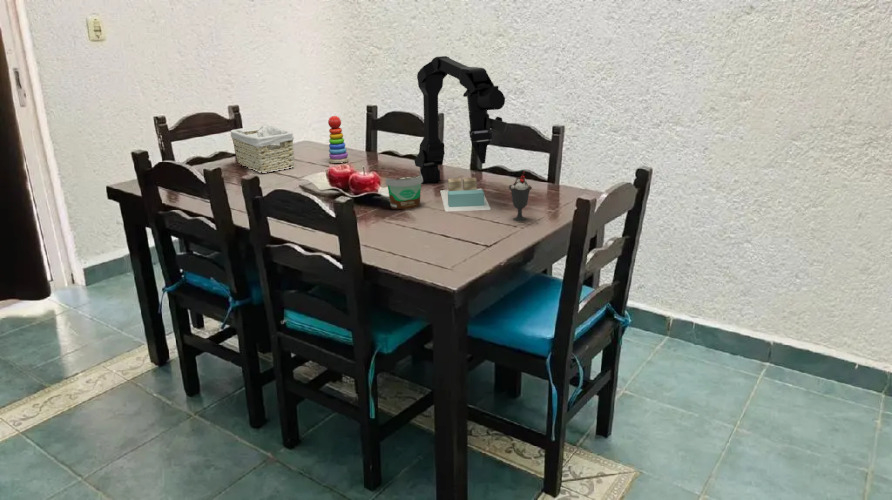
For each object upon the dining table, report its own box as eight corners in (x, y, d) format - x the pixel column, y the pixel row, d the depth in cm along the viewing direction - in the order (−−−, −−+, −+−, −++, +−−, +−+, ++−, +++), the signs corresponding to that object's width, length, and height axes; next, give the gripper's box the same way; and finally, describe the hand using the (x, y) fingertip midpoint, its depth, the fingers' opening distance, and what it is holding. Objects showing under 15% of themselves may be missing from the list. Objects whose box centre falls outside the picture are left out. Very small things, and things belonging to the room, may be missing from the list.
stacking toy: (335, 159, 270) (331, 114, 264) (352, 160, 268) (348, 114, 261) (325, 163, 264) (321, 117, 257) (343, 165, 261) (339, 117, 254)
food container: (394, 214, 199) (392, 182, 195) (386, 208, 204) (384, 177, 200) (430, 207, 204) (429, 176, 200) (422, 202, 209) (421, 172, 206)
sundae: (525, 225, 186) (526, 174, 180) (504, 221, 189) (504, 171, 184) (535, 219, 191) (536, 168, 186) (514, 215, 194) (515, 166, 189)
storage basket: (298, 168, 257) (294, 131, 252) (260, 176, 247) (255, 137, 242) (270, 159, 274) (266, 124, 269) (233, 166, 264) (228, 129, 259)
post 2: (464, 196, 214) (464, 181, 212) (463, 192, 217) (463, 178, 216) (476, 195, 214) (476, 180, 212) (475, 192, 218) (475, 177, 216)
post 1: (449, 196, 213) (449, 181, 212) (448, 193, 217) (448, 178, 215) (461, 196, 214) (461, 181, 212) (460, 192, 217) (460, 178, 216)
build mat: (445, 212, 199) (445, 211, 198) (440, 191, 221) (440, 190, 221) (491, 210, 199) (491, 209, 199) (481, 189, 222) (481, 188, 222)
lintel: (449, 207, 203) (448, 194, 201) (448, 203, 206) (447, 191, 205) (484, 205, 203) (484, 193, 202) (482, 201, 207) (482, 189, 206)
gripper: (506, 108, 190) (511, 162, 193) (501, 107, 208) (506, 156, 212) (468, 113, 190) (473, 166, 194) (467, 111, 208) (471, 159, 212)
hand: (482, 161), depth 203 cm, fingers open, 9 cm apart
